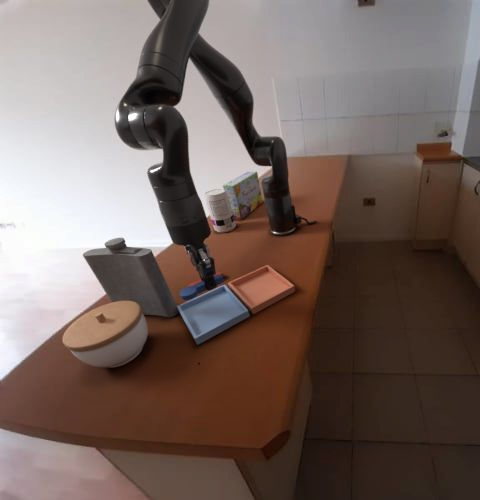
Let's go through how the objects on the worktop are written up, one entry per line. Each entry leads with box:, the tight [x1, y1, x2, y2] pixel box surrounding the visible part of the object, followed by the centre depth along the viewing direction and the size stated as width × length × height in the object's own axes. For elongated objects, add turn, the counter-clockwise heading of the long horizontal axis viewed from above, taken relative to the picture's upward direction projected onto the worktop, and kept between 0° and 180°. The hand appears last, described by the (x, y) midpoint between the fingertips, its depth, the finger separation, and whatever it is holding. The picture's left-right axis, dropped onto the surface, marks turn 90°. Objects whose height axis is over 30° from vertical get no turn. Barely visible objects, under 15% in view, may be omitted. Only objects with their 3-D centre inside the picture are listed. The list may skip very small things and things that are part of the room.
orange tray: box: [227, 264, 296, 315], centre depth 74 cm, size 12×14×2 cm
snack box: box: [222, 171, 264, 221], centre depth 121 cm, size 21×6×15 cm, turn 168°
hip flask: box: [82, 237, 180, 318], centre depth 65 cm, size 16×4×20 cm, turn 83°
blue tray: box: [177, 283, 251, 345], centre depth 67 cm, size 12×14×2 cm
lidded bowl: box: [61, 301, 149, 368], centre depth 56 cm, size 13×13×11 cm
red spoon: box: [186, 271, 224, 287], centre depth 78 cm, size 9×4×2 cm, turn 131°
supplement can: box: [204, 188, 237, 234], centre depth 106 cm, size 8×8×15 cm
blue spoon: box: [179, 273, 225, 301], centre depth 63 cm, size 9×4×2 cm, turn 131°
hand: (210, 285), depth 64 cm, fingers closed on blue spoon, 2 cm apart
